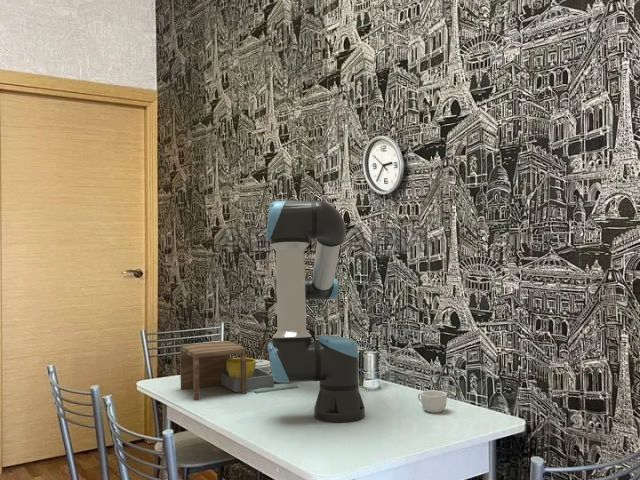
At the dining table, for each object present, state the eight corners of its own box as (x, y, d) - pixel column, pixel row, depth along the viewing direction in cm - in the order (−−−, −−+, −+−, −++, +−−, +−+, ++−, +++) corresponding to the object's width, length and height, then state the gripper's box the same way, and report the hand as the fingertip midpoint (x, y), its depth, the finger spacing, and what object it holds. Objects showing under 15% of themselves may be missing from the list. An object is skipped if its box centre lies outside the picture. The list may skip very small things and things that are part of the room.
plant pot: (259, 384, 228) (259, 357, 228) (251, 391, 218) (250, 363, 218) (232, 383, 230) (231, 356, 230) (222, 390, 220) (222, 362, 220)
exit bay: (298, 387, 223) (298, 385, 223) (255, 393, 216) (255, 391, 216) (275, 376, 242) (275, 374, 242) (235, 381, 234) (235, 379, 234)
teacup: (452, 411, 191) (452, 393, 191) (436, 416, 186) (436, 398, 186) (426, 404, 198) (426, 387, 198) (410, 409, 193) (410, 392, 193)
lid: (247, 369, 256) (247, 356, 256) (276, 370, 253) (276, 358, 253) (235, 376, 244) (234, 363, 244) (265, 377, 240) (265, 364, 240)
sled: (300, 383, 227) (299, 352, 227) (234, 391, 215) (234, 359, 215) (283, 375, 240) (283, 346, 240) (221, 383, 228) (220, 352, 228)
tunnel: (246, 393, 215) (245, 348, 215) (194, 400, 207) (194, 353, 207) (229, 382, 232) (228, 340, 231) (180, 388, 223) (179, 345, 223)
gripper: (304, 315, 226) (305, 380, 226) (284, 310, 242) (284, 371, 242) (285, 317, 222) (286, 383, 222) (266, 312, 238) (266, 373, 238)
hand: (285, 376), depth 232 cm, fingers closed on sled, 5 cm apart
